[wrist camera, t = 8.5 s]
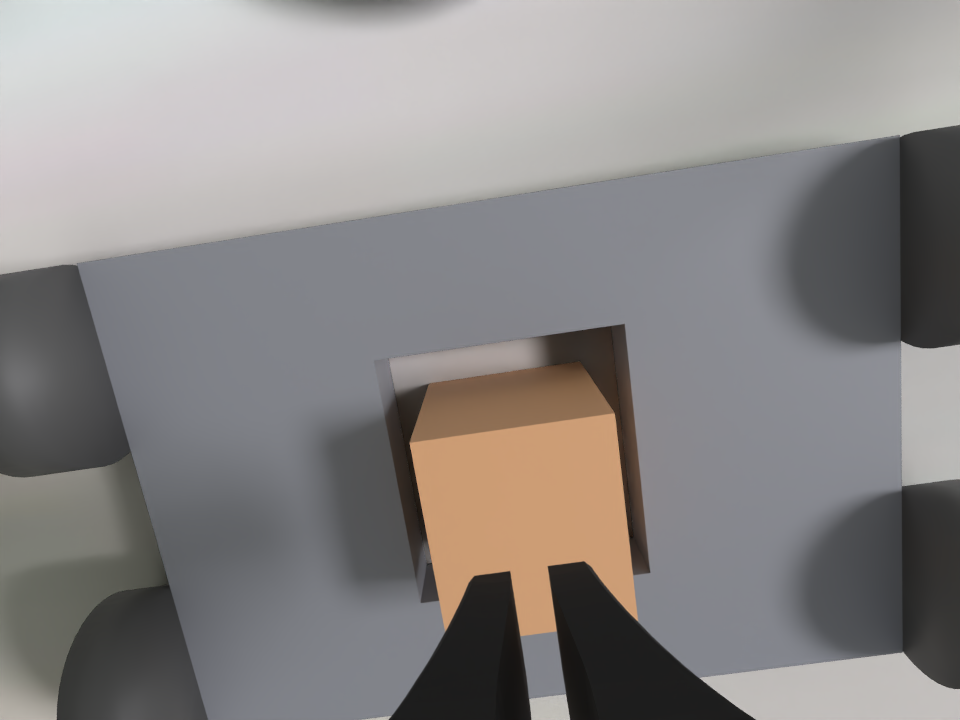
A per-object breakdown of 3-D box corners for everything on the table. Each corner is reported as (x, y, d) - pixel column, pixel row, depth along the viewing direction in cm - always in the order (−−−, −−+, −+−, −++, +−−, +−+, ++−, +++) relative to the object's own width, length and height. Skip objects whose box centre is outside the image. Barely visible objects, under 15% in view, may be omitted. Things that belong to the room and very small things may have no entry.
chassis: (919, 601, 20) (1063, 728, 15) (185, 695, 21) (92, 843, 16) (920, 133, 17) (1100, 99, 12) (60, 268, 18) (-103, 287, 13)
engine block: (599, 518, 19) (637, 620, 14) (456, 538, 19) (447, 645, 15) (579, 360, 18) (614, 413, 13) (429, 383, 18) (409, 442, 13)
